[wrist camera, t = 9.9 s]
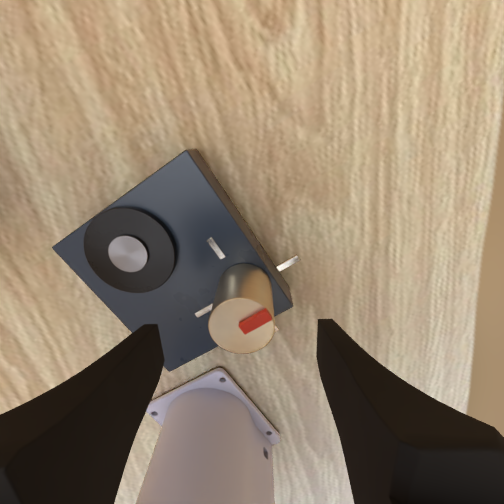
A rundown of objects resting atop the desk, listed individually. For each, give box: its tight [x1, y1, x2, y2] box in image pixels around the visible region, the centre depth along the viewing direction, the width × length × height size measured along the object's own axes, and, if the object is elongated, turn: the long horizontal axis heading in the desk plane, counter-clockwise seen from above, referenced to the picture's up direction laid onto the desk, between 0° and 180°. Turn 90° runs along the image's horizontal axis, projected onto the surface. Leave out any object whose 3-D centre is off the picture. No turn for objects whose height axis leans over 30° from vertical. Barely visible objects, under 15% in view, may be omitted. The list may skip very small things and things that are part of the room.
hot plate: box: [52, 149, 300, 372], centre depth 18 cm, size 12×12×3 cm
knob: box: [208, 264, 275, 354], centre depth 15 cm, size 3×3×4 cm
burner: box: [83, 206, 177, 293], centre depth 16 cm, size 5×5×1 cm
